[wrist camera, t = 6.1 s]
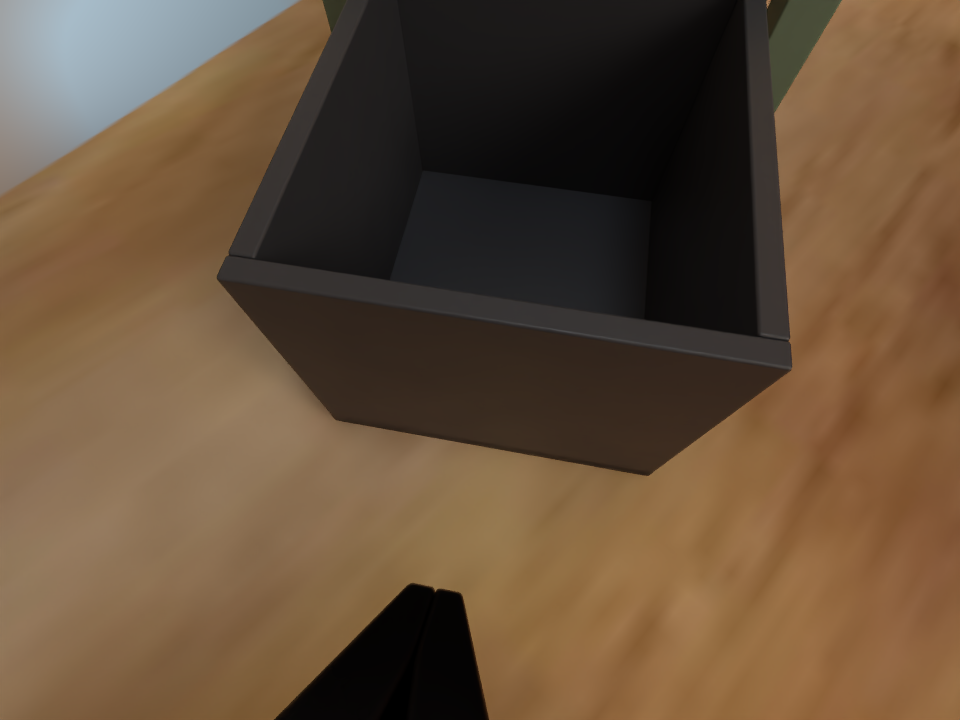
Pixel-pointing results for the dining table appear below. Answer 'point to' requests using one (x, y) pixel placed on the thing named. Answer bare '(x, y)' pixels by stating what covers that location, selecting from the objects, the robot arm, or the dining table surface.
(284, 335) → the storage basket
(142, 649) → the dining table surface
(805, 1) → the green footstool
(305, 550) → the dining table surface
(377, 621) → the robot arm
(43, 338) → the dining table surface
